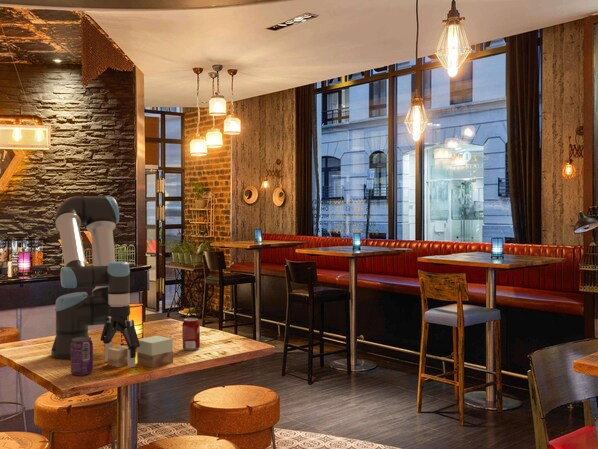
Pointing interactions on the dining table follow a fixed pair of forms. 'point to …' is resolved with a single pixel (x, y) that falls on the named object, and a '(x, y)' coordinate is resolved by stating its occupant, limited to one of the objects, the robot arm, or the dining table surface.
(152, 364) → the tower base block
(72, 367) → the beverage can
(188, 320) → the soda can
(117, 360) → the oak cube
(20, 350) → the dining table surface
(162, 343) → the tower top block
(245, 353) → the dining table surface
